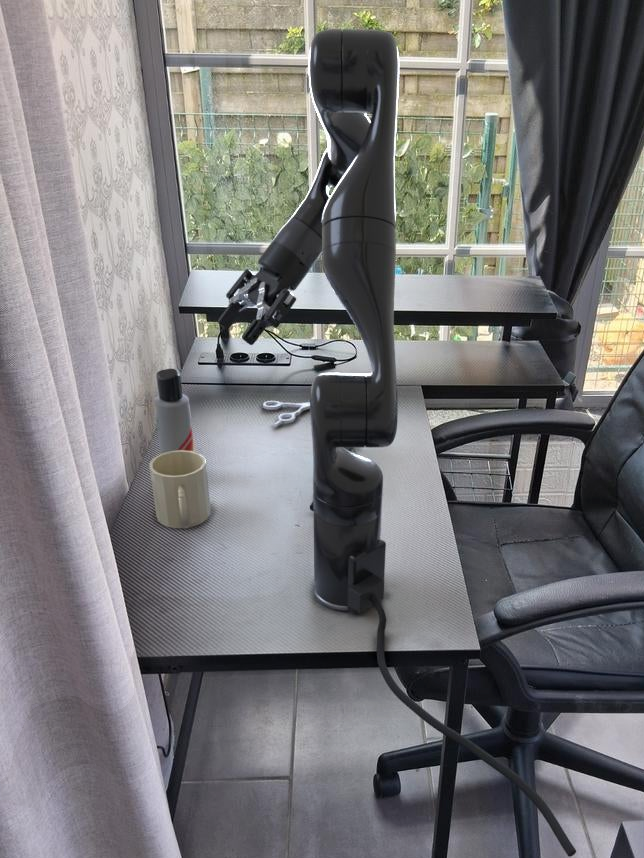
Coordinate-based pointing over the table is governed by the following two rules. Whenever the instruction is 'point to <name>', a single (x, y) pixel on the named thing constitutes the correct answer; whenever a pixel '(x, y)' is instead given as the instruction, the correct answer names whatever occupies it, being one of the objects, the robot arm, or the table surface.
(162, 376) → the lotion bottle
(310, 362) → the table surface
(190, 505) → the mug
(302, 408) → the scissors
